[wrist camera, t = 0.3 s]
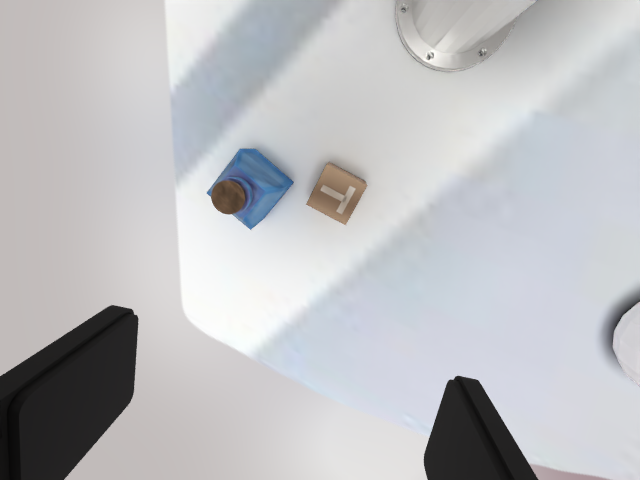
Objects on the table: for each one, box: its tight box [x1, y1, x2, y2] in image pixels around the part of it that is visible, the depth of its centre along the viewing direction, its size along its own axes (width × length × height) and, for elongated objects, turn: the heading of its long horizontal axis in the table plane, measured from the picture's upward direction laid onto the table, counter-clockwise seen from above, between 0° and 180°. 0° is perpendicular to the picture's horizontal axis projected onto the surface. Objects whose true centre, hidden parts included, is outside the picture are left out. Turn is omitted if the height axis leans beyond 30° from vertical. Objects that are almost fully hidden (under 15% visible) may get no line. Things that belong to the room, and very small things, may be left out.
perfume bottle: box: [207, 149, 294, 230], centre depth 38 cm, size 6×6×12 cm
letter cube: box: [306, 162, 367, 225], centre depth 41 cm, size 5×5×5 cm
